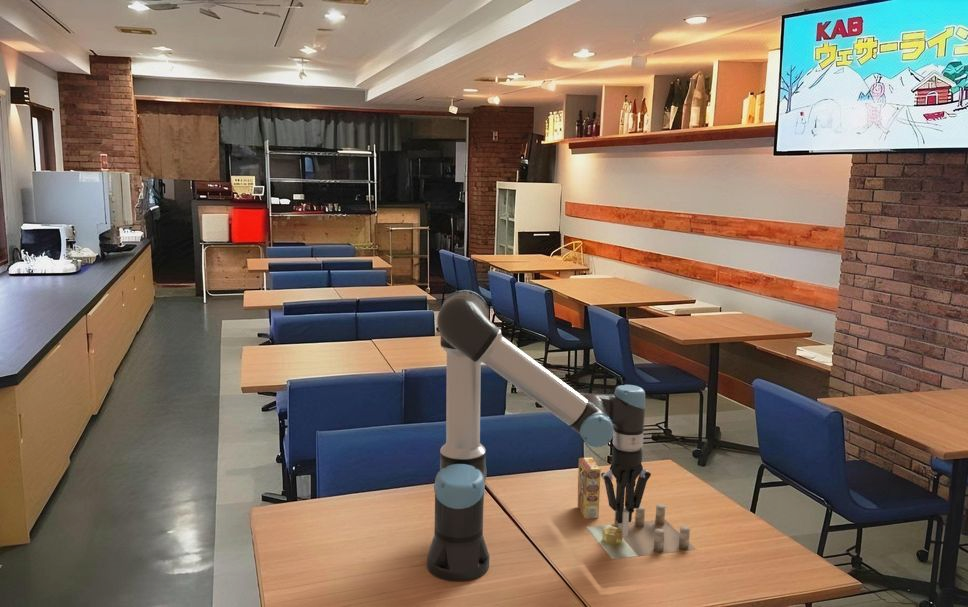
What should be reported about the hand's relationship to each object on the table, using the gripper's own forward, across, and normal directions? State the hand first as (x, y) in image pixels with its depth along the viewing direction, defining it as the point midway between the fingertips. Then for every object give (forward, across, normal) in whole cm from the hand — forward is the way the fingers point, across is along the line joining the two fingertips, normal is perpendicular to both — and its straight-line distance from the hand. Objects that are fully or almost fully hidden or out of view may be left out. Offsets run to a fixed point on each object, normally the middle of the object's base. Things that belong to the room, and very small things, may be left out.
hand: (622, 533), depth 189 cm
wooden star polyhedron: (+2, -3, 0) cm, 3 cm away
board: (+3, +5, 0) cm, 6 cm away
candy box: (+3, -3, +18) cm, 18 cm away
